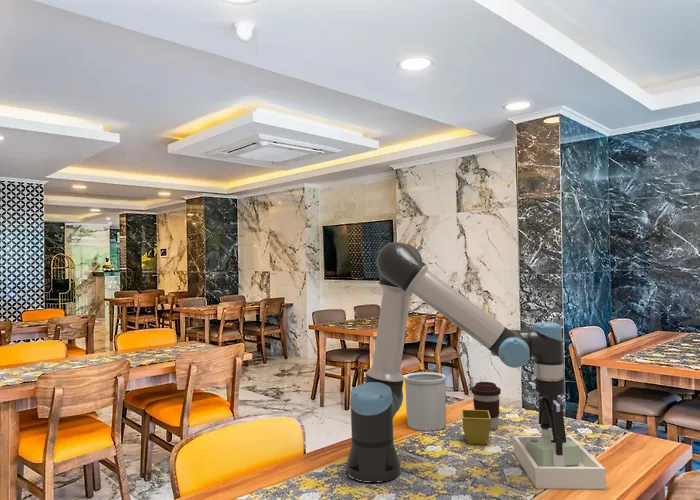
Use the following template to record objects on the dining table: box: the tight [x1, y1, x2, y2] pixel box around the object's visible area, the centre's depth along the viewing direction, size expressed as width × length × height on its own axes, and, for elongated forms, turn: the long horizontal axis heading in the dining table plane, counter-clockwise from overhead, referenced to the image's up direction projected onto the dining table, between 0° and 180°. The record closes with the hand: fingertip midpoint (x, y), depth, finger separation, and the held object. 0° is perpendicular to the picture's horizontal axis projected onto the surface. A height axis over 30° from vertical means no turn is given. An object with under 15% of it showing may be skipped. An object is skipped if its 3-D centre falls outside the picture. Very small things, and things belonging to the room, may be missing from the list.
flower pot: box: [461, 409, 491, 445], centre depth 159 cm, size 9×9×9 cm
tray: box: [512, 435, 607, 490], centre depth 136 cm, size 17×24×5 cm
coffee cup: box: [470, 381, 502, 431], centre depth 173 cm, size 10×10×15 cm
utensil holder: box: [403, 371, 447, 432], centre depth 177 cm, size 15×15×18 cm
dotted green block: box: [526, 437, 580, 467], centre depth 138 cm, size 11×8×5 cm
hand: (552, 458), depth 138 cm, fingers open, 9 cm apart
